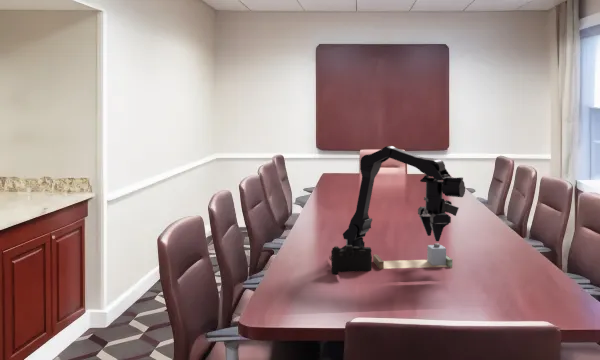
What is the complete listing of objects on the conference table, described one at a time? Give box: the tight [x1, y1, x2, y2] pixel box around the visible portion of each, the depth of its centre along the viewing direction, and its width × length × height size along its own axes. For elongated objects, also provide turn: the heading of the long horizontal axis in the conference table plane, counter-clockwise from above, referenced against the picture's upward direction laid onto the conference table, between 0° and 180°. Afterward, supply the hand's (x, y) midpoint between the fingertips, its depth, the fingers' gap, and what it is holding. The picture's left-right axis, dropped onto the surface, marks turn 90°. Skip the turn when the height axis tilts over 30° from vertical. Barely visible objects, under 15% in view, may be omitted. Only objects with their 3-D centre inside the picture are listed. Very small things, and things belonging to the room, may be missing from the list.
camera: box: [330, 244, 373, 276], centre depth 194 cm, size 14×11×10 cm
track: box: [372, 254, 453, 270], centre depth 199 cm, size 26×10×4 cm, turn 95°
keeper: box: [426, 242, 447, 265], centre depth 199 cm, size 5×6×7 cm
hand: (433, 238), depth 199 cm, fingers open, 9 cm apart
